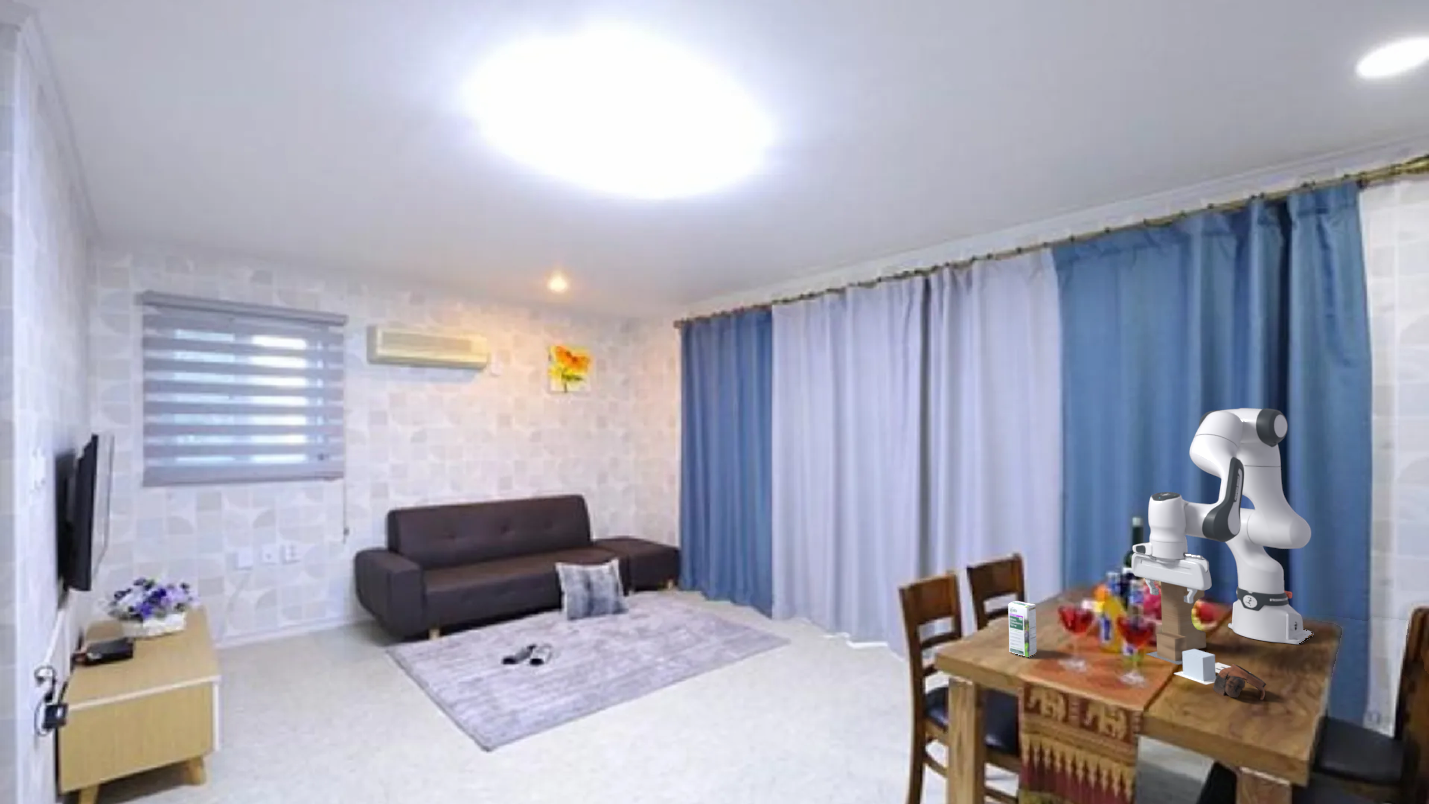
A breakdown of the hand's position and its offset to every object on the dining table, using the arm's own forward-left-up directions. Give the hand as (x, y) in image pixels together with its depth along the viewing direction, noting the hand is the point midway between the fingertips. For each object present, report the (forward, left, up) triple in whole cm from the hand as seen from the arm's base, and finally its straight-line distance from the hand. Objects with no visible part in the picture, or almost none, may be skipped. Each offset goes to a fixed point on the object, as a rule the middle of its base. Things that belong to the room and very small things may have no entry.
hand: (1171, 598), depth 186 cm
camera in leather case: (+12, +23, -17) cm, 31 cm away
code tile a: (-2, +12, -17) cm, 21 cm away
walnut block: (+1, 0, -16) cm, 16 cm away
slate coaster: (+1, 0, -17) cm, 17 cm away
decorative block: (-11, -4, -17) cm, 21 cm away
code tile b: (+9, +12, -17) cm, 22 cm away
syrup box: (+36, -20, -17) cm, 44 cm away
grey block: (+9, +12, -16) cm, 22 cm away
